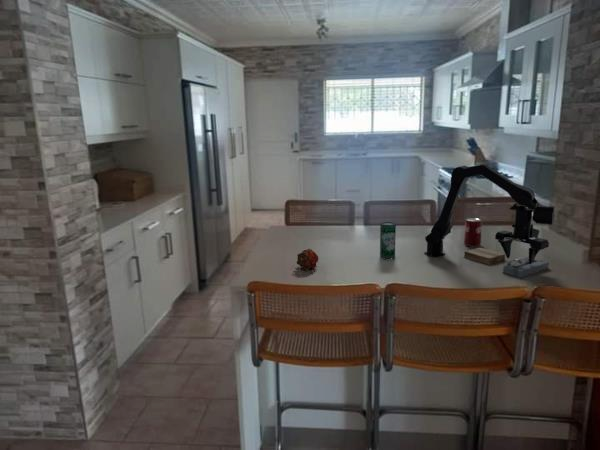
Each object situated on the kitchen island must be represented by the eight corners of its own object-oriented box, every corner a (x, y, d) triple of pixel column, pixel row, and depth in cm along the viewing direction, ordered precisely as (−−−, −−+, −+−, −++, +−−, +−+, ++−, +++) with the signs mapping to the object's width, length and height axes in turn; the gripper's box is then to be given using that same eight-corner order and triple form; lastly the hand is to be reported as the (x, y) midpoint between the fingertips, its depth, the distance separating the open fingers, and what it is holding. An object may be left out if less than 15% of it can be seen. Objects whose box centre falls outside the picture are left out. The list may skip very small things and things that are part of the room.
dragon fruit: (303, 277, 176) (307, 271, 188) (320, 264, 174) (324, 259, 186) (291, 259, 176) (296, 254, 188) (308, 247, 174) (312, 243, 186)
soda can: (462, 246, 205) (464, 220, 202) (465, 242, 211) (466, 217, 209) (479, 247, 202) (481, 221, 199) (481, 243, 208) (483, 218, 205)
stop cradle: (520, 277, 164) (520, 271, 163) (503, 272, 170) (503, 266, 169) (548, 268, 173) (548, 262, 172) (530, 263, 179) (531, 257, 178)
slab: (488, 265, 179) (489, 258, 179) (464, 258, 190) (464, 251, 189) (504, 261, 184) (505, 254, 184) (479, 254, 194) (480, 247, 194)
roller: (516, 272, 170) (517, 262, 169) (506, 269, 173) (507, 259, 172) (530, 267, 175) (531, 258, 174) (520, 265, 178) (521, 255, 177)
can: (384, 260, 188) (384, 225, 185) (377, 256, 194) (378, 222, 191) (397, 258, 190) (397, 224, 186) (390, 254, 196) (391, 221, 192)
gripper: (559, 223, 166) (554, 263, 170) (513, 214, 181) (509, 251, 185) (541, 227, 160) (537, 268, 164) (495, 218, 176) (492, 256, 179)
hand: (519, 260), depth 173 cm, fingers open, 9 cm apart
